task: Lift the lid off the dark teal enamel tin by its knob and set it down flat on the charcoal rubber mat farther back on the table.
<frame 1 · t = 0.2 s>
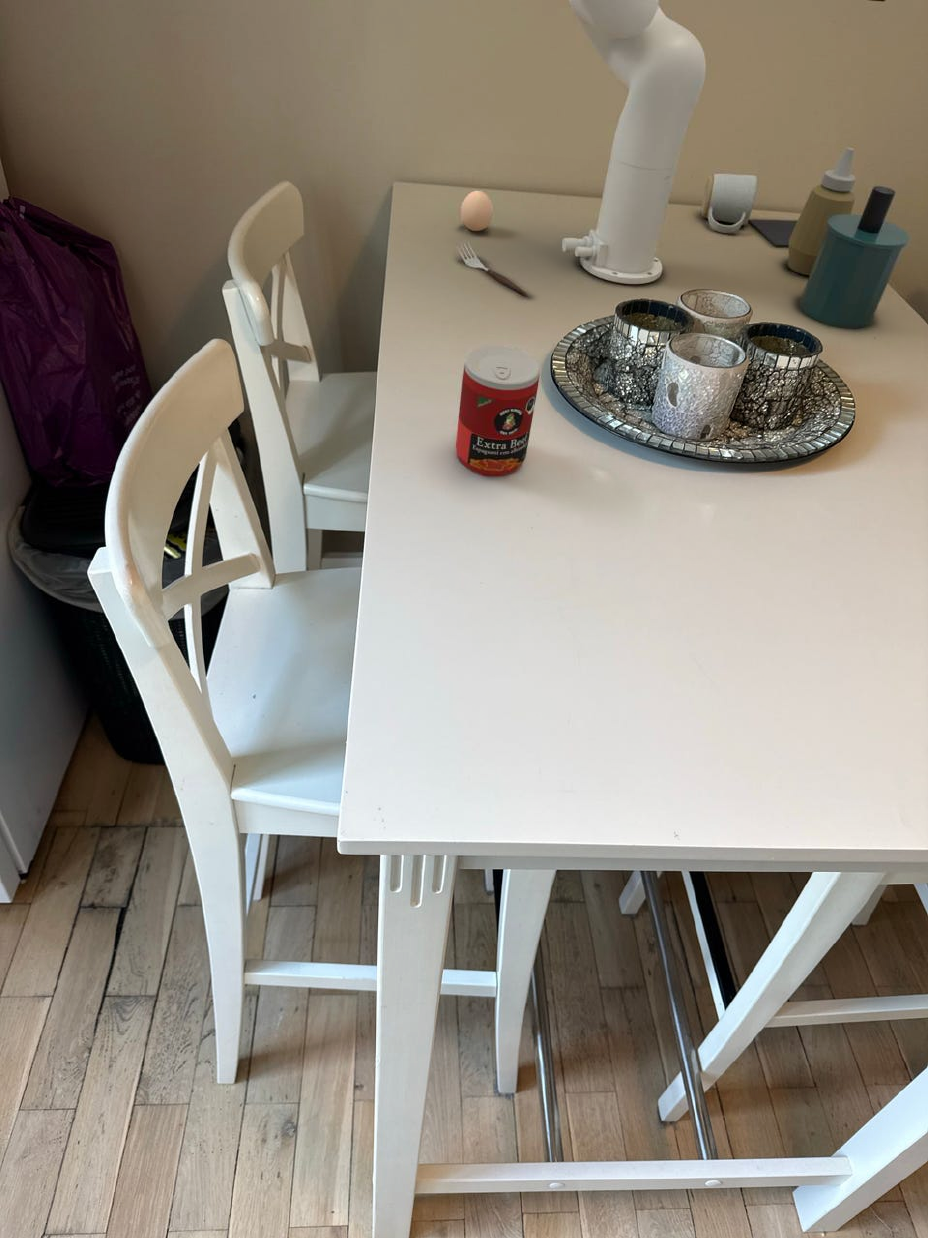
mat: (789, 234, 153), on the table
egg: (474, 231, 141), on the table
canned food: (489, 458, 95), on the table
tin: (835, 311, 131), on the table
ceramic mug: (723, 224, 154), on the table
tin lid: (866, 233, 123), point 11 cm above the table, touching tin
squeeze bottle: (805, 270, 142), on the table
fork: (492, 278, 129), on the table
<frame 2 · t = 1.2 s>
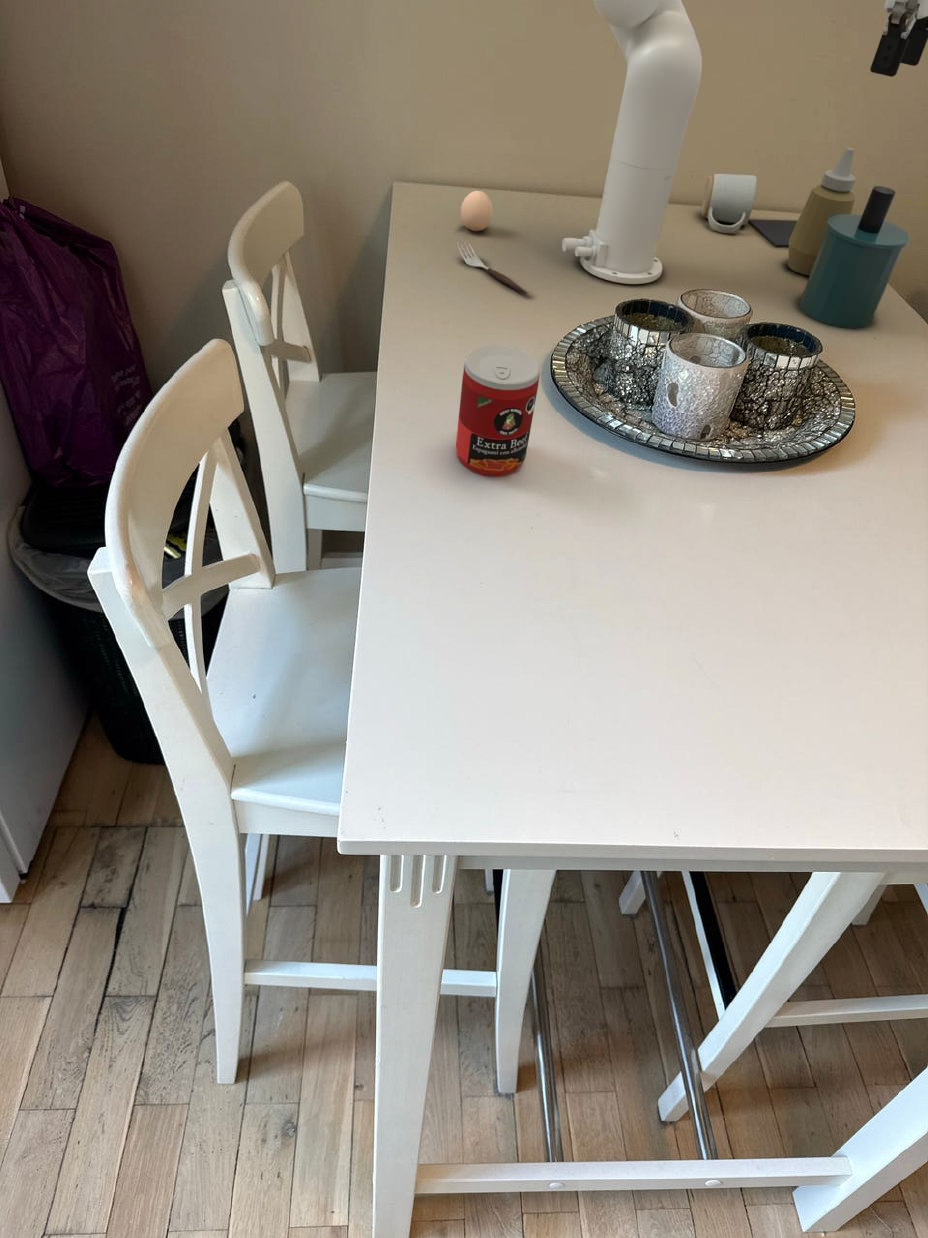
hand: (893, 68, 114), 30 cm above the table, tool pointing down, fingers open, 9 cm apart
nothing on the table moved.
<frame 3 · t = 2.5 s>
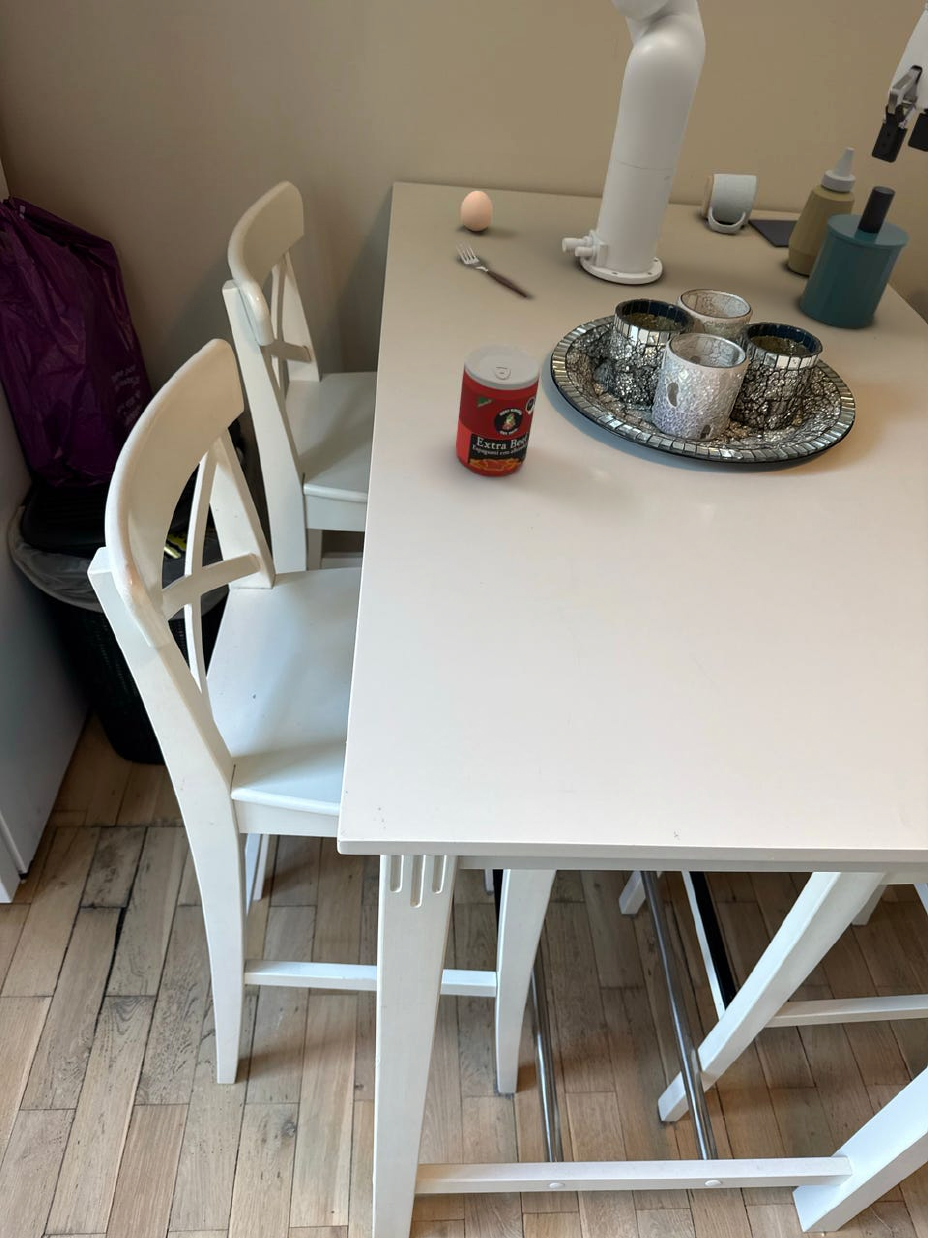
hand: (900, 153, 116), 22 cm above the table, tool pointing down, fingers open, 9 cm apart
nothing on the table moved.
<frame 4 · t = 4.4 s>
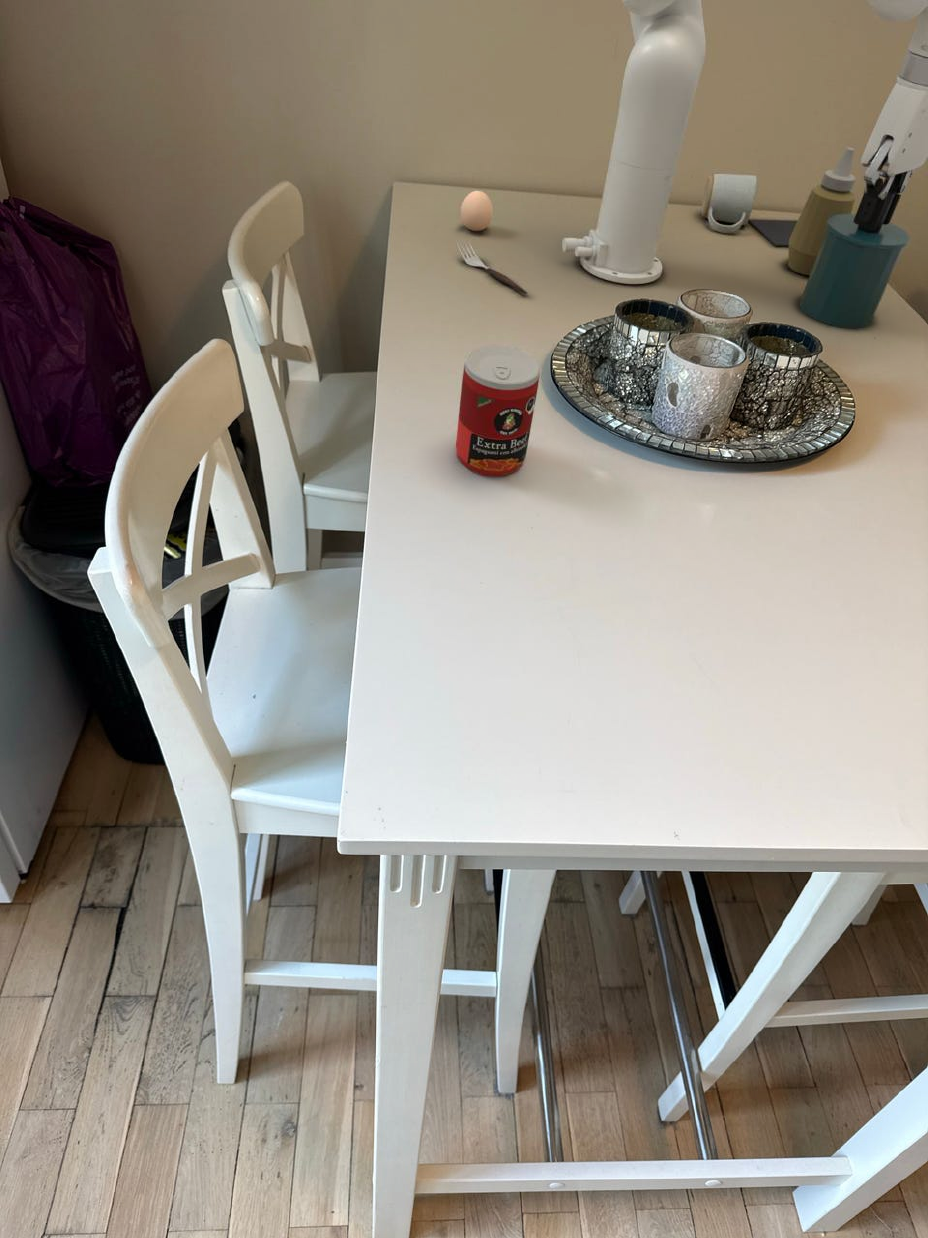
hand: (871, 222, 122), 13 cm above the table, tool pointing down, fingers closed on tin lid, 3 cm apart
tin lid: (866, 233, 123), point 12 cm above the table, touching gripper, tin
everything else where it was.
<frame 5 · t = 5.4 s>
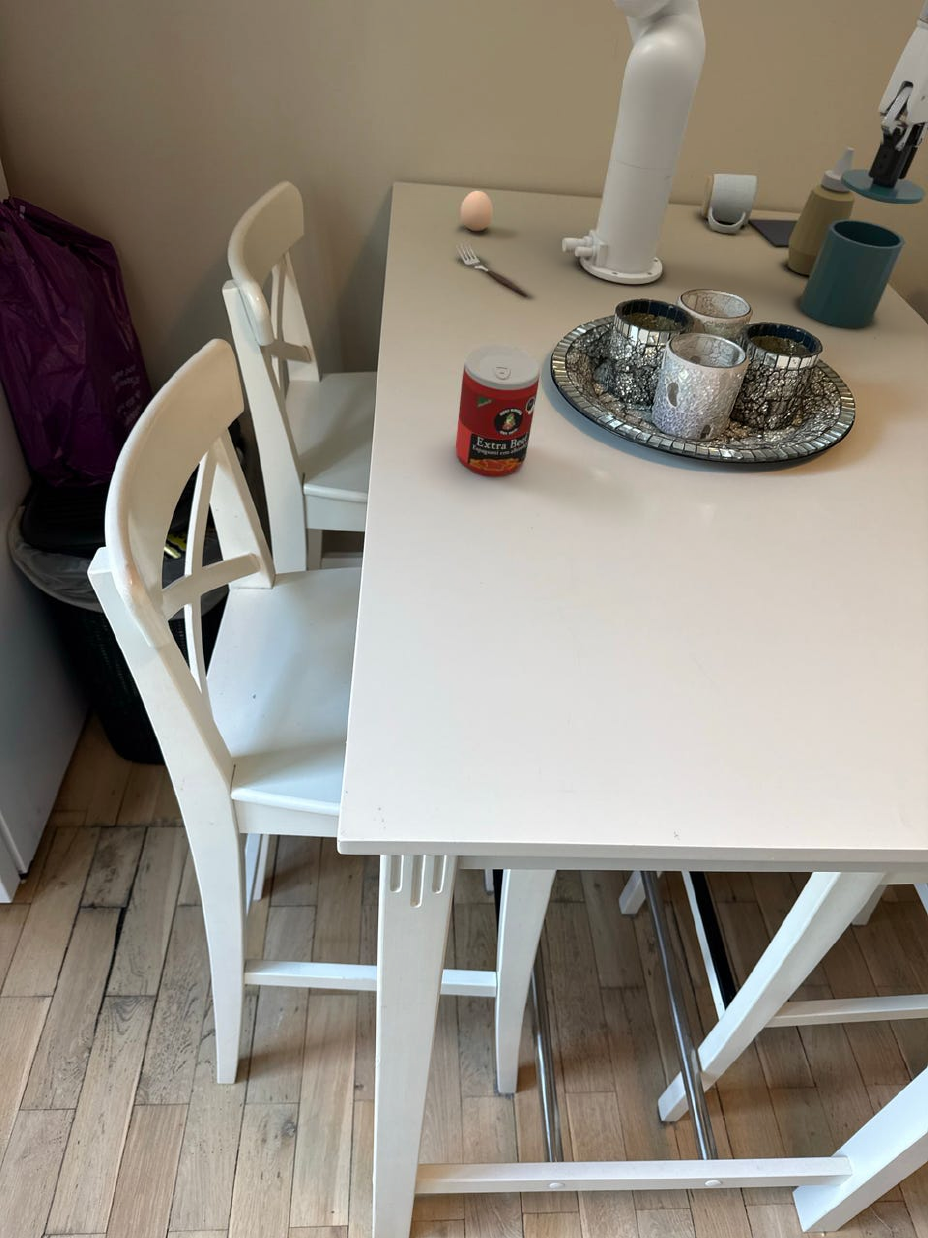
hand: (886, 176, 118), 19 cm above the table, tool pointing down, fingers closed on tin lid, 3 cm apart
tin lid: (881, 188, 119), point 17 cm above the table, touching gripper
everything else where it was.
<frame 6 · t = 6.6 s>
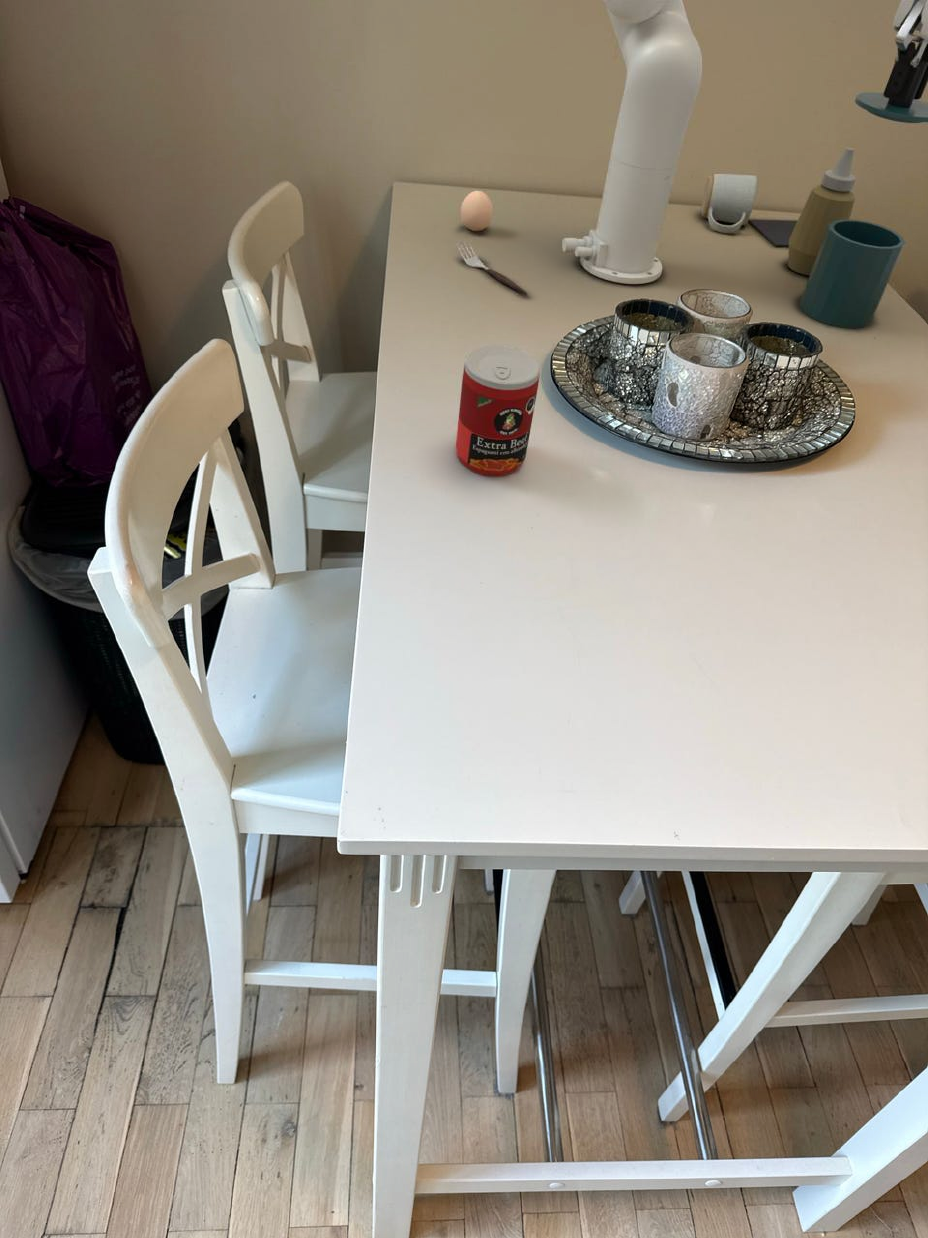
hand: (901, 96, 117), 27 cm above the table, tool pointing down, fingers closed on tin lid, 3 cm apart
tin lid: (897, 109, 118), point 26 cm above the table, touching gripper
everything else where it was.
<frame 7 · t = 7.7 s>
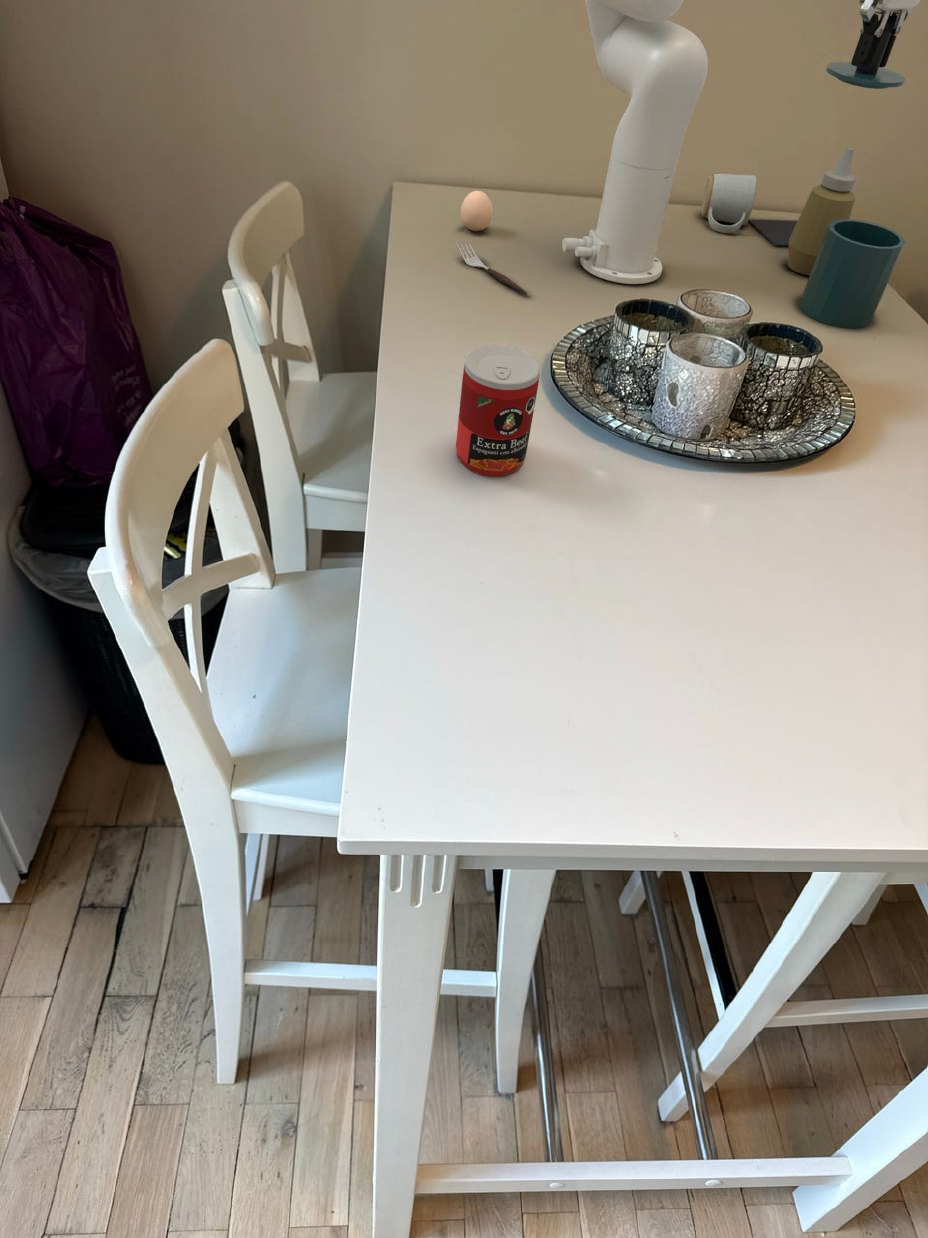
hand: (868, 64, 128), 27 cm above the table, tool pointing down, fingers closed on tin lid, 3 cm apart
tin lid: (864, 76, 130), point 26 cm above the table, touching gripper
everything else where it was.
when the fingers open (3 cm above the table, at t = 13.9 s): tin lid stays where it is, resting on mat.
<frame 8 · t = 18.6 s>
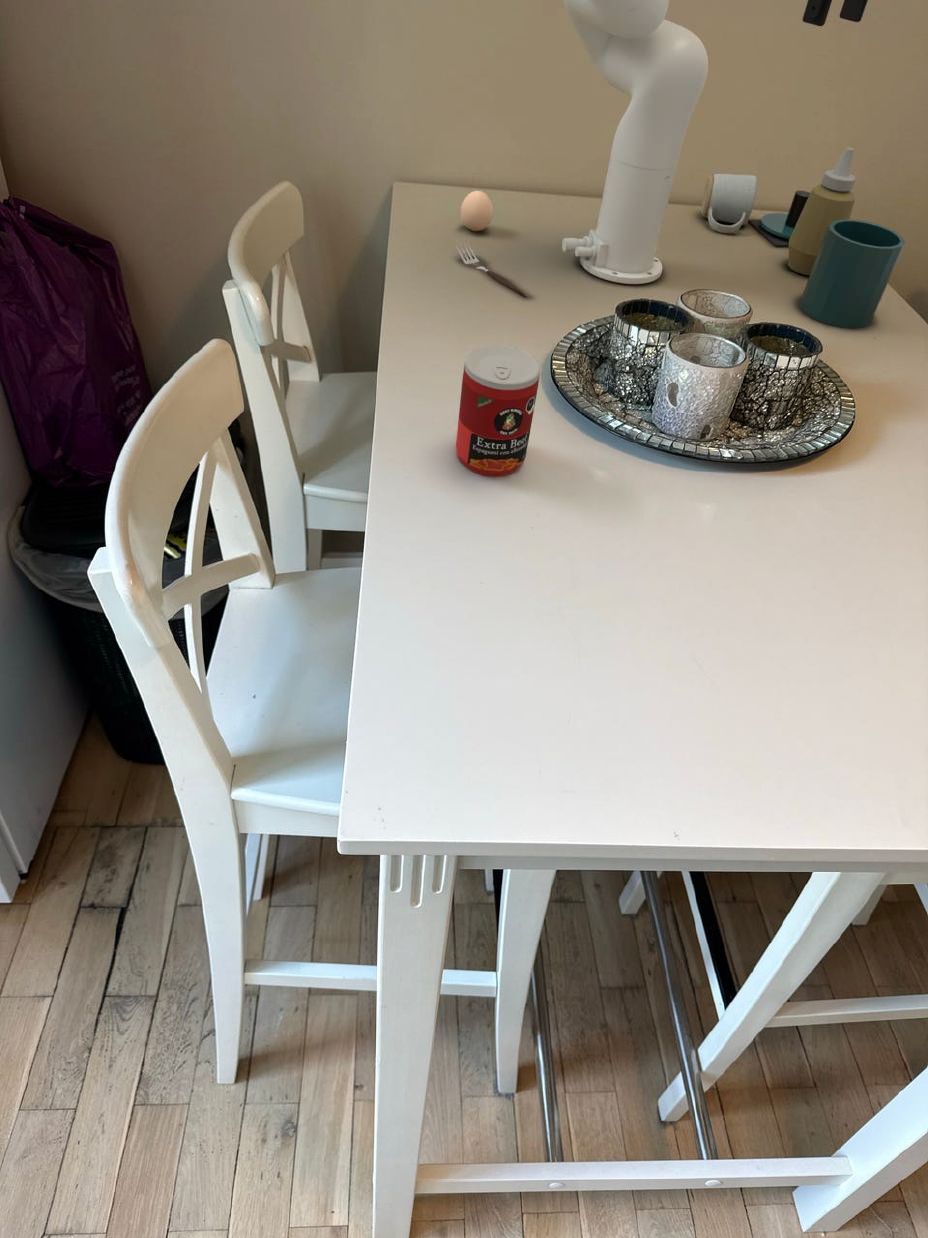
hand: (831, 21, 123), 32 cm above the table, tool pointing down, fingers open, 9 cm apart
tin lid: (792, 228, 152), point 1 cm above the table, touching mat
everything else where it was.
at the end: tin lid point 1.0 cm above the table; tin lid inside the target area on the mat (0.1 cm from its centre), point 1.0 cm above the mat's base; tin lid tilted 0° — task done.
